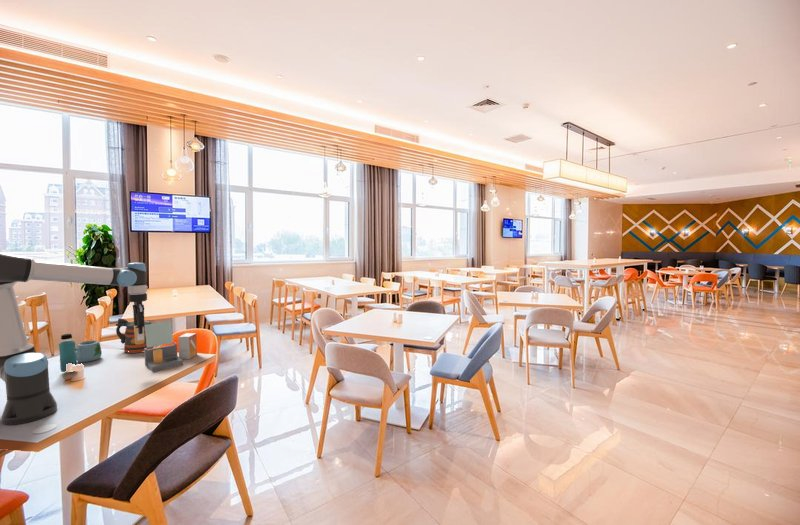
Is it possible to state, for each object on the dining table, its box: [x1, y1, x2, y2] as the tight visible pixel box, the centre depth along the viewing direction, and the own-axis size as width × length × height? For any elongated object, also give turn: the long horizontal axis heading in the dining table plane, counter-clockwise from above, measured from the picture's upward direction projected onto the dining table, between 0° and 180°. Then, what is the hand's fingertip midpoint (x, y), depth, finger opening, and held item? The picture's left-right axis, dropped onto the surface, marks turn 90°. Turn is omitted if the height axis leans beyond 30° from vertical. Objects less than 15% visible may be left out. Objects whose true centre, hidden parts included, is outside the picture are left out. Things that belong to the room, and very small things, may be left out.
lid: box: [145, 320, 175, 348], centre depth 200 cm, size 12×12×1 cm
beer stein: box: [115, 318, 154, 354], centre depth 220 cm, size 19×15×20 cm
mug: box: [76, 340, 103, 363], centre depth 201 cm, size 15×11×10 cm
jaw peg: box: [134, 325, 145, 344], centre depth 182 cm, size 4×4×9 cm
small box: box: [177, 332, 198, 360], centre depth 208 cm, size 8×6×13 cm
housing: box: [143, 342, 184, 372], centre depth 195 cm, size 15×14×10 cm
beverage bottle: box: [58, 333, 78, 373], centre depth 183 cm, size 6×7×20 cm
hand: (139, 339), depth 183 cm, fingers closed on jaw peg, 3 cm apart
